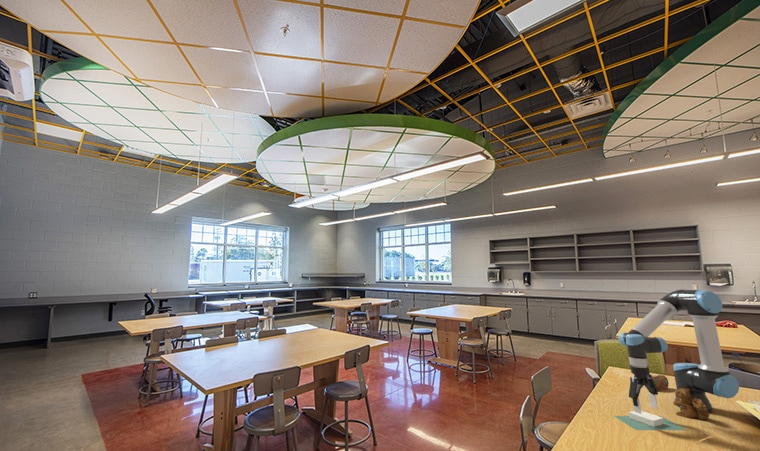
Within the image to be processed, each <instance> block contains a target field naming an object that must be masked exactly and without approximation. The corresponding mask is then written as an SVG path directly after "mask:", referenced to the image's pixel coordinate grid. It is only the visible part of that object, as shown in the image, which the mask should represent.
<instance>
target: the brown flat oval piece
mask: <svg viewBox="0 0 760 451" xmlns="http://www.w3.org/2000/svg"><path fill="white" fill-rule="evenodd" d="M651 376H652V379H653V381H654V383H655V385H656V388H657V390H658V391H663V390H667V389H668V388H669V380H668V378H667V376H665V375H662V374H655V375H651ZM662 389H663V390H662Z"/></svg>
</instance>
